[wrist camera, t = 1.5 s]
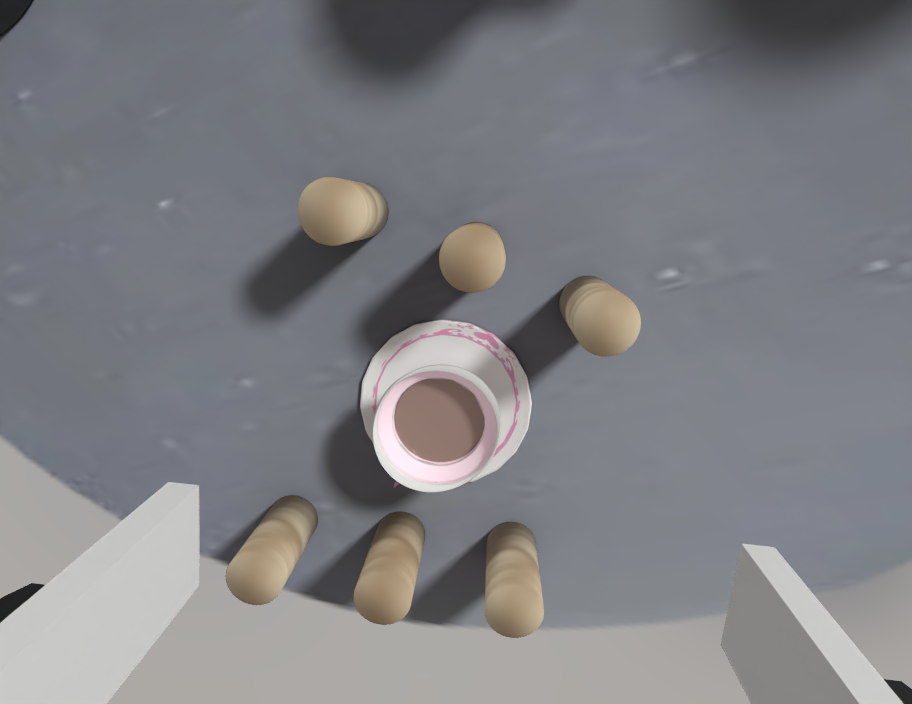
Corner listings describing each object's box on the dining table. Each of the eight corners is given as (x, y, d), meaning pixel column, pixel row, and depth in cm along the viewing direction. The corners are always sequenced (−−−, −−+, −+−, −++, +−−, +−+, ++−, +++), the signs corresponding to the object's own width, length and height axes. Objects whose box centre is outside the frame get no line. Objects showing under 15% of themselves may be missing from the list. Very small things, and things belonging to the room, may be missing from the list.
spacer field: (266, 532, 48) (221, 596, 40) (340, 176, 41) (304, 169, 34) (518, 600, 48) (523, 677, 40) (630, 254, 41) (661, 264, 34)
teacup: (420, 284, 43) (408, 296, 37) (565, 381, 44) (577, 409, 38) (330, 422, 45) (305, 455, 39) (468, 511, 46) (464, 557, 40)
